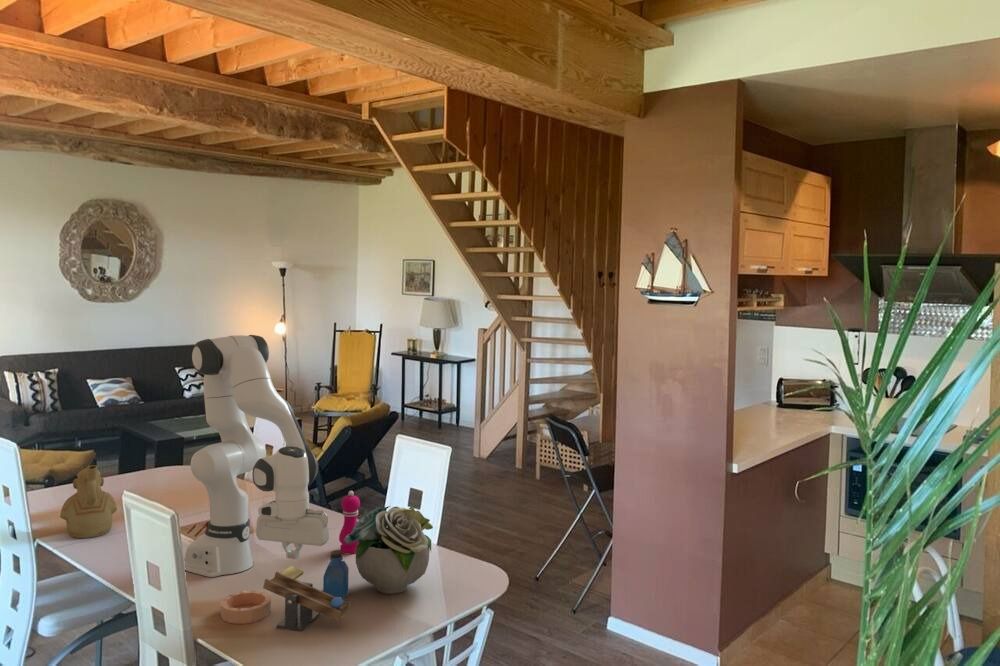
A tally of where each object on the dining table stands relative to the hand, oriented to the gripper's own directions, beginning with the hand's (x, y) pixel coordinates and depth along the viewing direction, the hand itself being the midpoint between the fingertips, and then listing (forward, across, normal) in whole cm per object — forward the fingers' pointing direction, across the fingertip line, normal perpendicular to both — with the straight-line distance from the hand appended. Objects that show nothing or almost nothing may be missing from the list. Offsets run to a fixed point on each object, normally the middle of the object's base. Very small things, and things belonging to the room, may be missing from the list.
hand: (292, 558), depth 201 cm
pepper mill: (+13, +4, -43) cm, 45 cm away
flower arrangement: (+14, -21, -19) cm, 32 cm away
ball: (+7, -17, +8) cm, 20 cm away
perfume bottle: (+14, -7, -11) cm, 19 cm away
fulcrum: (+13, -6, +8) cm, 17 cm away
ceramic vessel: (+11, +95, -30) cm, 100 cm away
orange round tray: (+13, +9, +8) cm, 18 cm away
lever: (+7, -8, +4) cm, 12 cm away
